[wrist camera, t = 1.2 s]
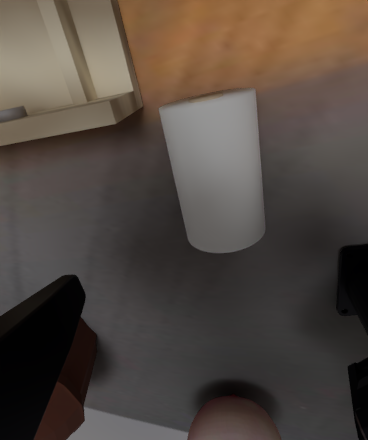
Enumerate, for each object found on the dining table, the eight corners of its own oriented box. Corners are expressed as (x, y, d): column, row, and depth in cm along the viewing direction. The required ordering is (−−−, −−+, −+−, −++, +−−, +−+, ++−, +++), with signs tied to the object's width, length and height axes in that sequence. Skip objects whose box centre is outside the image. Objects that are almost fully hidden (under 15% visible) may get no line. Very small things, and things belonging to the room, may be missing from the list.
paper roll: (261, 208, 20) (271, 250, 16) (191, 217, 21) (183, 258, 17) (251, 82, 17) (260, 92, 12) (166, 99, 18) (148, 114, 13)
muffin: (132, 344, 29) (94, 464, 21) (74, 381, 34) (24, 491, 26) (32, 273, 26) (-62, 382, 18) (-16, 326, 31) (-109, 431, 22)
